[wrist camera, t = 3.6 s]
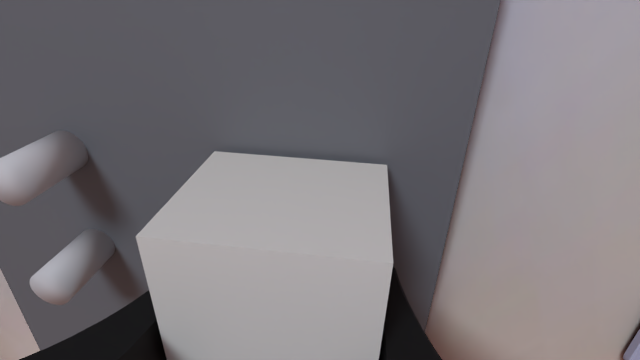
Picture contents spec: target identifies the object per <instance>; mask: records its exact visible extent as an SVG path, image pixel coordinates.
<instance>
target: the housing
mask: <svg viewBox="0 0 640 360" xmlns="http://www.w3.org/2000/svg"><path fill="white" fill-rule="evenodd" d="M136 240H137V244H138V248H139V252H140V256H141V260H142V264H143V268H144V272H145V276H146V280H147V283H148V287H149V291H150V295H151V299H152V303H153V307H154V311H155V315H156V319H157V323H158V327H159V331H160V335H161V339H162V343H163V347H164V351H165V355H166V358H167V360H379V354H380V348H381V341H382V335H383V328H384V321H385V315H386V308H387V302H388V295H389V289H390V282H391V275H392V269H393V250H392V234H391V219H390V203H389V187H388V171H387V165H383V164H370V163H358V162H345V161H332V160H320V159H307V158H294V157H281V156H269V155H256V154H243V153H231V152H218V151H214V152H213V153H212V155H211V156H210V157H209V158H208V159H207V160H206V161H205V162H204V163H203V164H202V165H201V166H200V167H199V169H198V170H197V171H196V172H195V173H194V174H193V175H192V176H191V177H190V178H189V179H188V180H187V181H186V183H185V184H184V185H183V186H182V187H181V188H180V189H179V190H178V191H177V192H176V193H175V194H174V196H173V197H172V198H171V199H170V200H169V201H168V202H167V203H166V204H165V205H164V206H163V207H162V208H161V210H160V211H159V212H158V213H157V214H156V215H155V216H154V217H153V218H152V219H151V220H150V221H149V222H148V224H147V225H146V226H145V227H144V228H143V229H142V230H141V231H140V232H139V233H138V234H137V235H136Z"/></svg>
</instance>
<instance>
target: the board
mask: <svg viewBox="0 0 640 360" xmlns="http://www.w3.org/2000/svg"><path fill="white" fill-rule="evenodd" d="M499 5H500V0H0V268H1V270H2V273H3V275H4V277H5V279H6V281H7V283H8V285H9V287H10V289H11V291H12V293H13V295H14V297H15V299H16V301H17V303H18V305H19V307H20V310H21V312H22V314H23V316H24V318H25V320H26V322H27V324H28V326H29V328H30V330H31V332H32V334H33V336H34V338H35V340H36V342H37V344H38V346H39V349H40V351H41V350H43V349H46V348H48V347H50V346H52V345H54V344H57V343H59V342H61V341H63V340H65V339H67V338H69V337H71V336H73V335H75V334H77V333H79V332H81V331H83V330H85V329H86V328H88V327H90V326H92V325H94V324H96V323H98V322H100V321H102V320H103V319H105V318H107V317H108V316H110V315H112V314H113V313H115V312H117V311H118V310H120V309H122V308H123V307H125V306H126V305H128V304H129V303H131V302H132V301H134V300H135V299H137V298H138V297H140V296H141V295H142V294H144V293H145V292H147V291H148V290H149V287H148V283H147V280H146V276H145V272H144V268H143V264H142V260H141V256H140V252H139V248H138V244H137V240H136V235H137V234H138V233H139V232H140V231H141V230H142V229H143V228H144V227H145V226H146V225H147V224H148V222H149V221H150V220H151V219H152V218H153V217H154V216H155V215H156V214H157V213H158V212H159V211H160V210H161V208H162V207H163V206H164V205H165V204H166V203H167V202H168V201H169V200H170V199H171V198H172V197H173V196H174V194H175V193H176V192H177V191H178V190H179V189H180V188H181V187H182V186H183V185H184V184H185V183H186V181H187V180H188V179H189V178H190V177H191V176H192V175H193V174H194V173H195V172H196V171H197V170H198V169H199V167H200V166H201V165H202V164H203V163H204V162H205V161H206V160H207V159H208V158H209V157H210V156H211V155H212V153H213V152H214V151H218V152H231V153H243V154H256V155H269V156H281V157H294V158H307V159H320V160H332V161H345V162H358V163H370V164H383V165H387V171H388V187H389V203H390V219H391V234H392V250H393V266H394V268H395V269H396V272H397V275H398V278H399V281H400V283H401V286H402V288H403V291H404V293H405V295H406V297H407V300H408V302H409V304H410V306H411V308H412V310H413V312H414V314H415V316H416V318H417V320H418V322H419V323H420V325H421V327H422V329H423V330H424V332H425V329H426V324H427V320H428V316H429V311H430V307H431V302H432V298H433V294H434V289H435V285H436V281H437V276H438V272H439V267H440V263H441V259H442V254H443V250H444V246H445V241H446V237H447V232H448V228H449V224H450V219H451V215H452V210H453V206H454V202H455V197H456V193H457V189H458V184H459V180H460V175H461V171H462V167H463V162H464V158H465V154H466V149H467V145H468V140H469V136H470V132H471V127H472V123H473V118H474V114H475V110H476V105H477V101H478V97H479V92H480V88H481V83H482V79H483V75H484V70H485V66H486V62H487V57H488V53H489V48H490V44H491V40H492V35H493V31H494V26H495V22H496V18H497V13H498V9H499Z"/></svg>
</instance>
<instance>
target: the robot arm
mask: <svg viewBox="0 0 640 360" xmlns="http://www.w3.org/2000/svg"><path fill="white" fill-rule="evenodd" d="M623 359H624V360H640V329H639V331H638V332H637V334H636V336H635V337H634V339H633V340H632V342H631V344H630V345H629V347H628V349H627V350H626V352H625V353H624V356H623ZM19 360H167V358H166V355H165V351H164V347H163V343H162V339H161V335H160V331H159V327H158V323H157V319H156V315H155V311H154V307H153V303H152V299H151V295H150V291H149V290H148V291H147V292H145V293H144V294H142V295H141V296H140V297H138V298H137V299H135V300H134V301H132V302H131V303H129V304H128V305H126V306H125V307H123V308H122V309H120V310H118V311H117V312H115V313H113V314H112V315H110V316H108V317H107V318H105V319H103V320H102V321H100V322H98V323H96V324H94V325H92V326H90V327H88V328H86V329H85V330H83V331H81V332H79V333H77V334H75V335H73V336H71V337H69V338H67V339H65V340H63V341H61V342H59V343H57V344H54V345H52V346H50V347H48V348H46V349H43V350H41V351H39V352H37V353H34V354H32V355H29V356H27V357H25V358H22V359H19ZM379 360H442V359H441V358H440V356H439V355H438V353H437V352H436V350H435V349H434V347H433V345H432V344H431V342H430V341H429V339H428V337H427V336H426V334H425V332H424V330H423V329H422V327H421V325H420V323H419V322H418V320H417V318H416V316H415V314H414V312H413V310H412V308H411V306H410V304H409V302H408V300H407V297H406V295H405V293H404V291H403V288H402V286H401V283H400V281H399V278H398V275H397V272H396V269H395V268H394V266H393V269H392V275H391V282H390V289H389V295H388V302H387V308H386V315H385V321H384V328H383V335H382V341H381V348H380V354H379Z"/></svg>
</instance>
